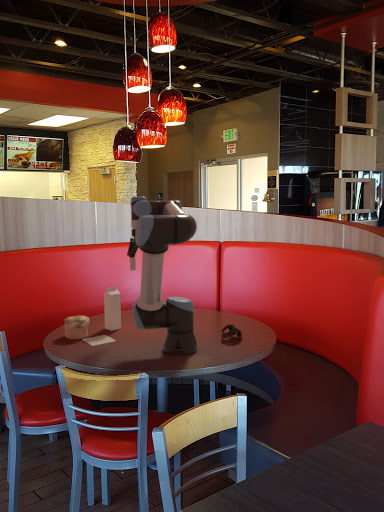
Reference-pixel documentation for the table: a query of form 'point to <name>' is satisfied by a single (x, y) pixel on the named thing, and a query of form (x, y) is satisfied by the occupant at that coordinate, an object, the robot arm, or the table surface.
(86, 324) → the brass lid
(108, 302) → the milk
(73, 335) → the terracotta bowl
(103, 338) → the silicone mat
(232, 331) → the pottery mug
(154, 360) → the table surface
